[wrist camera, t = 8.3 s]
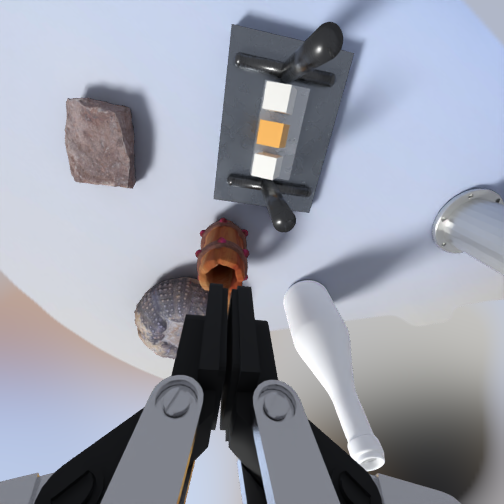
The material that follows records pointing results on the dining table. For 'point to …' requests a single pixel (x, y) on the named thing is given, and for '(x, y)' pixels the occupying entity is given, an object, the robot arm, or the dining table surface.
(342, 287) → the dining table surface
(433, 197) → the dining table surface
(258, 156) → the white leaning block
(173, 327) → the sea urchin shell
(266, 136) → the block
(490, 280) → the dining table surface
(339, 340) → the wine bottle
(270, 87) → the white tilted cube
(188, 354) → the robot arm
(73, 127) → the stone
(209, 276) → the mug
